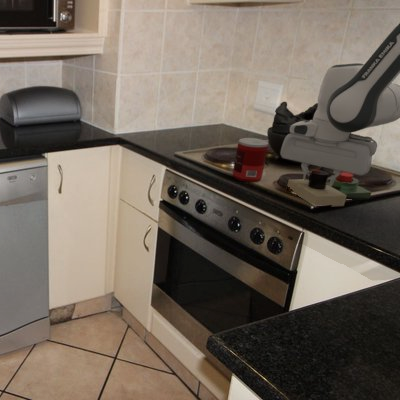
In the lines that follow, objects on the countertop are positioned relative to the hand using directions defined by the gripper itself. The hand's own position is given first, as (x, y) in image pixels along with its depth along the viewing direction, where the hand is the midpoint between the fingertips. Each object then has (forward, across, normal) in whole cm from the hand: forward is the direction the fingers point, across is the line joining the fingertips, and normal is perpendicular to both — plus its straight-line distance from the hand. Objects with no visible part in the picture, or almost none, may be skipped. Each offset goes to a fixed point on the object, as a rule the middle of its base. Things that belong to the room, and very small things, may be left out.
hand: (317, 182), depth 124 cm
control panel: (+4, 0, 0) cm, 4 cm away
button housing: (+4, -4, -9) cm, 11 cm away
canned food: (+4, +19, -2) cm, 19 cm away
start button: (+1, -4, -9) cm, 10 cm away
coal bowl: (+5, +14, -28) cm, 31 cm away
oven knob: (+1, 0, 0) cm, 1 cm away
